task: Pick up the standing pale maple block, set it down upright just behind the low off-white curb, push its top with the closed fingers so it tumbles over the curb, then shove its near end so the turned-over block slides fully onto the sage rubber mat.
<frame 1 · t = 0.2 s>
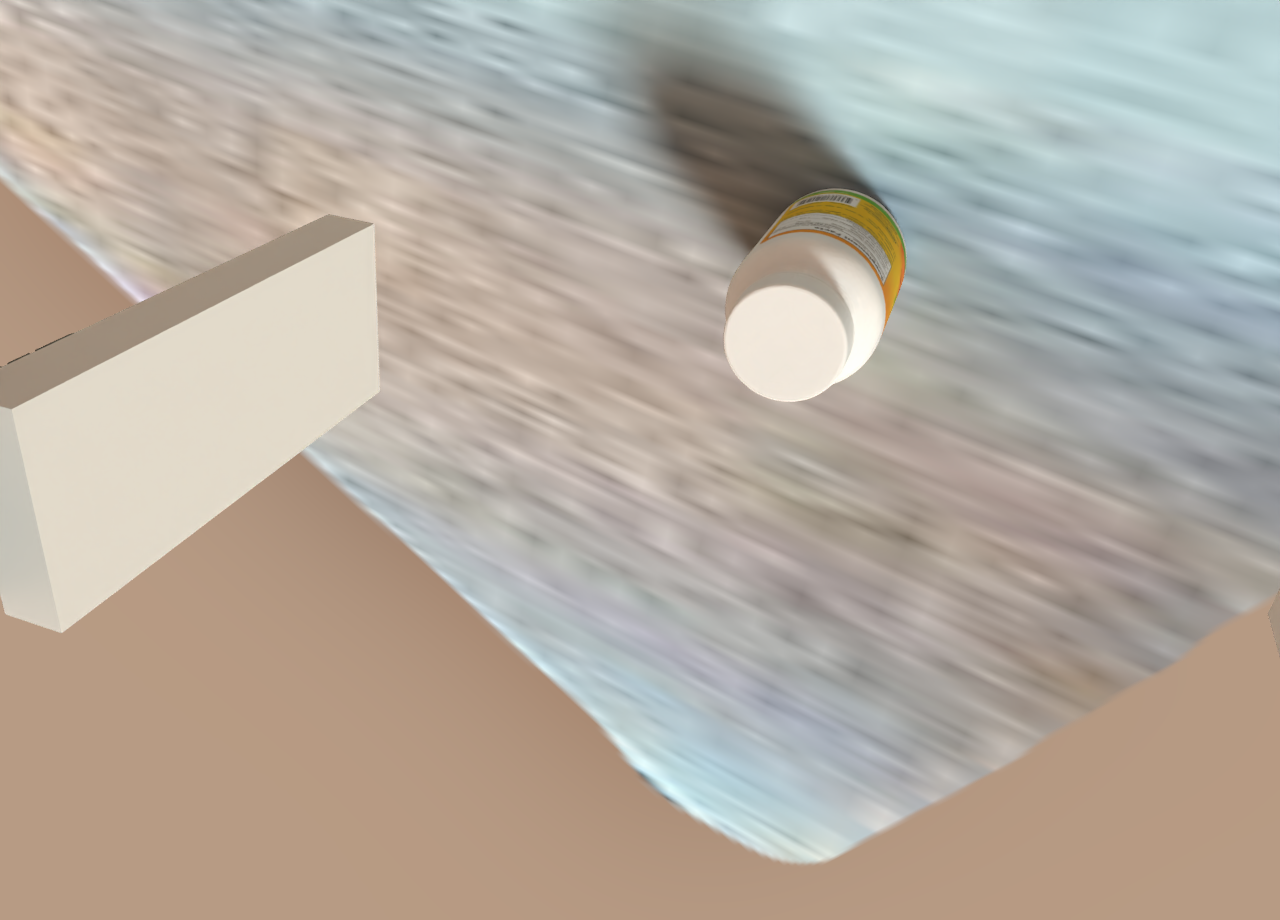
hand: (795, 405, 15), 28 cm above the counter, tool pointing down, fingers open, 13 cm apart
supplement bottle: (838, 253, 43), on the counter
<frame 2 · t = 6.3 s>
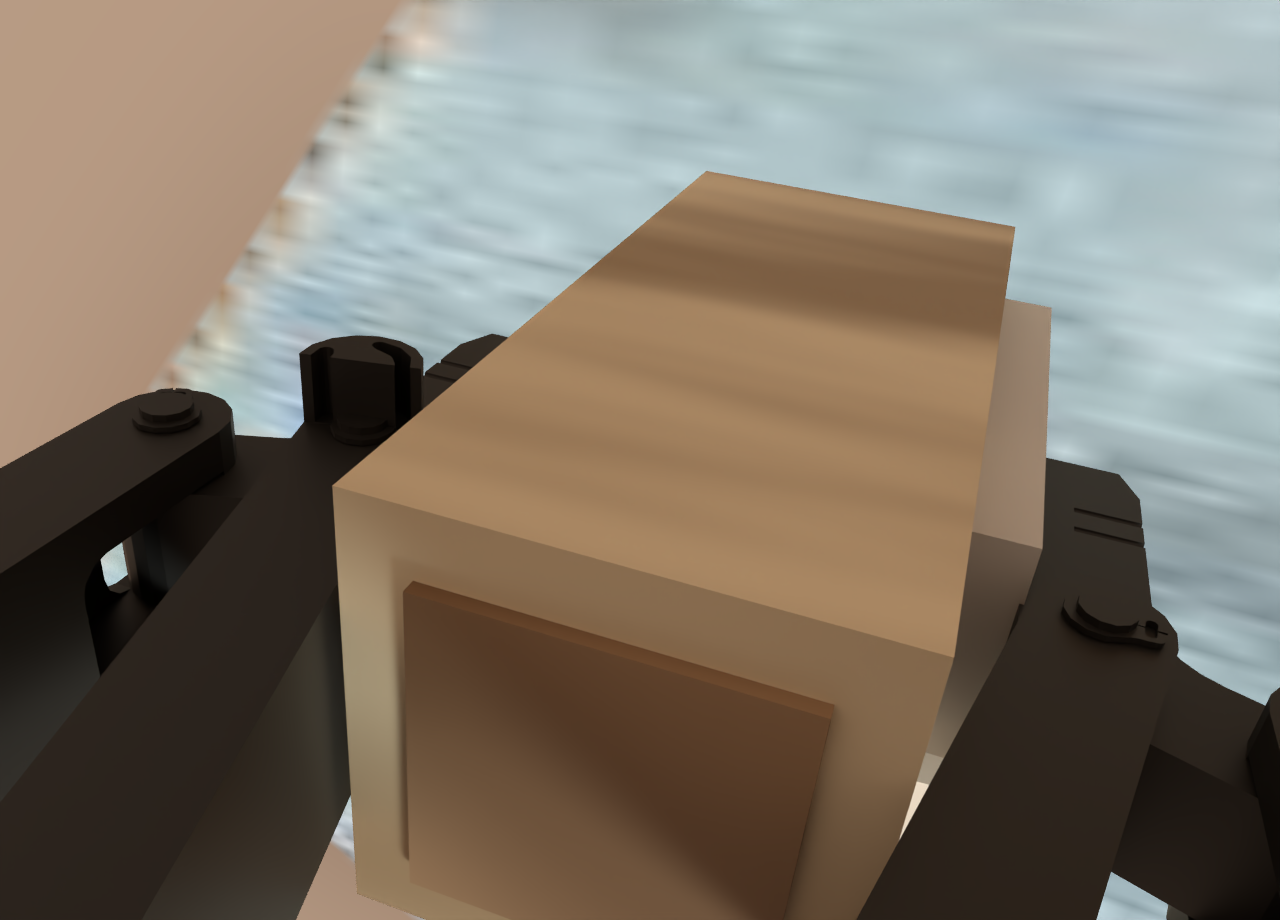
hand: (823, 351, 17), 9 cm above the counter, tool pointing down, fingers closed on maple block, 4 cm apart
maple block: (828, 340, 17), point 8 cm above the counter, touching gripper
curb: (738, 724, 32), on the counter
when the fingers open (1 cm above the counter, at t = 10.2 s): maple block stays where it is, on the counter.
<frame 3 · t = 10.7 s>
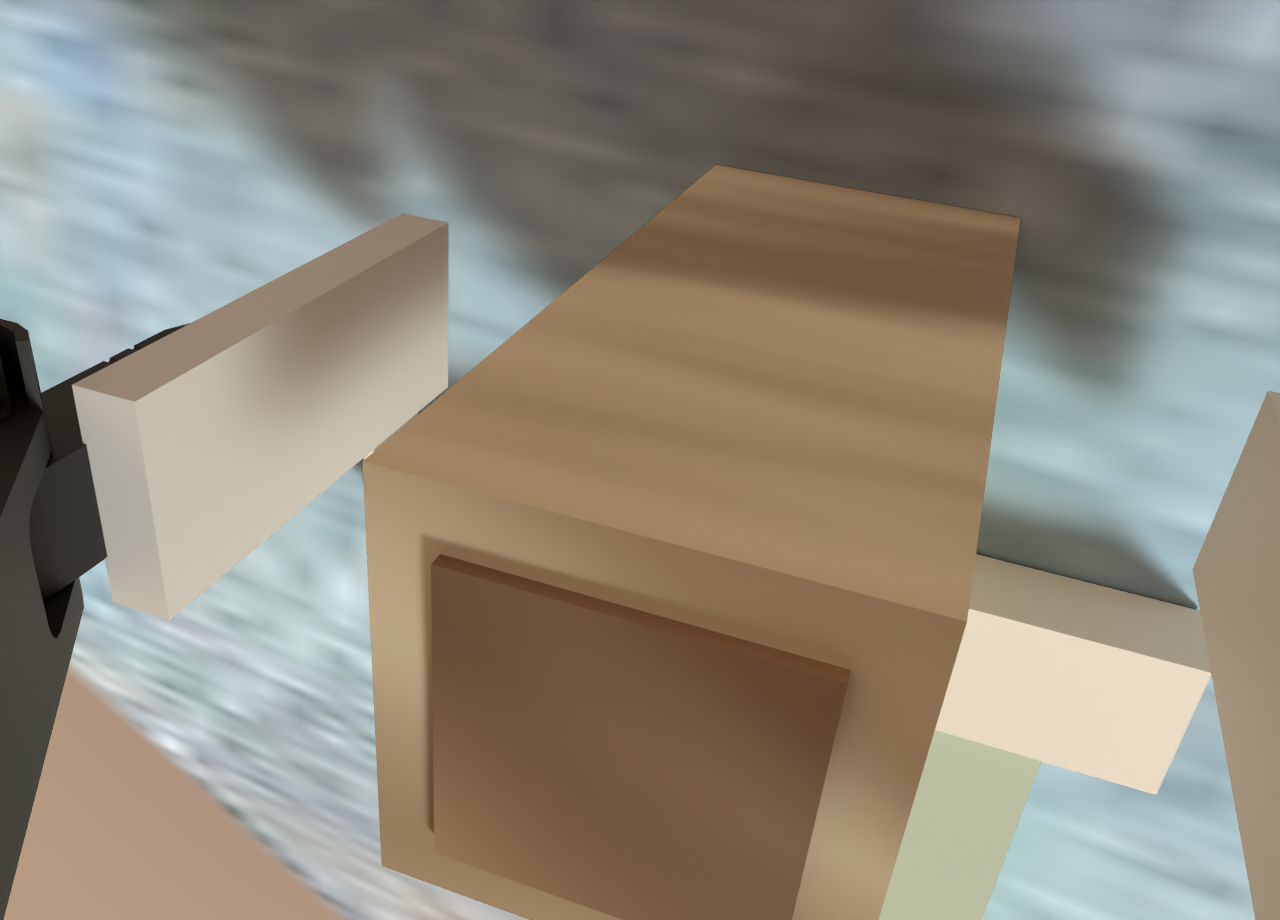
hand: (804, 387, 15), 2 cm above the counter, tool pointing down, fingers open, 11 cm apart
mat: (717, 798, 23), on the counter
maple block: (836, 331, 17), on the counter
curb: (759, 560, 20), on the counter
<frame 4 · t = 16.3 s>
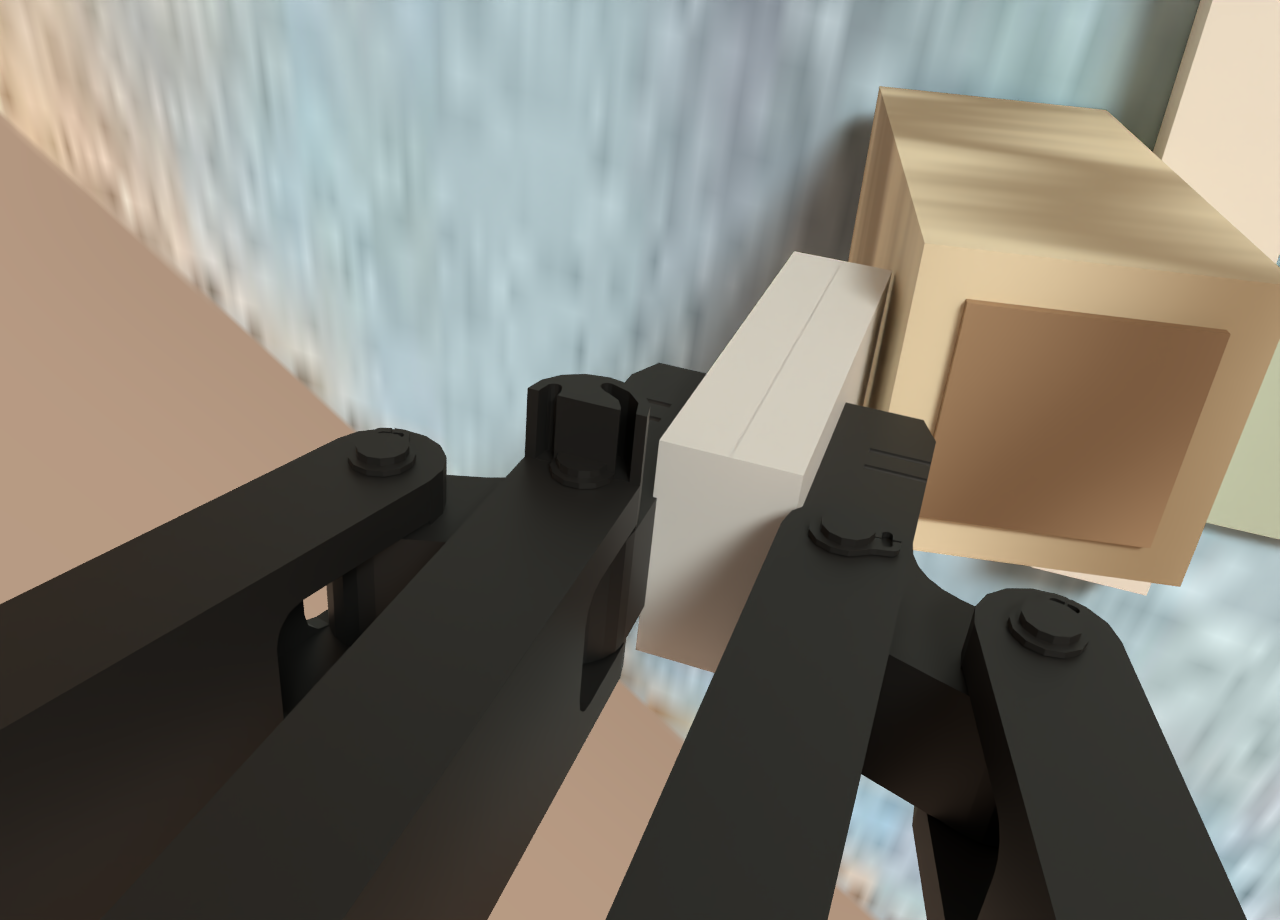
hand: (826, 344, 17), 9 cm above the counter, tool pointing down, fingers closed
maple block: (966, 207, 23), on the counter, tilted 11°, touching gripper
curb: (1183, 266, 23), on the counter
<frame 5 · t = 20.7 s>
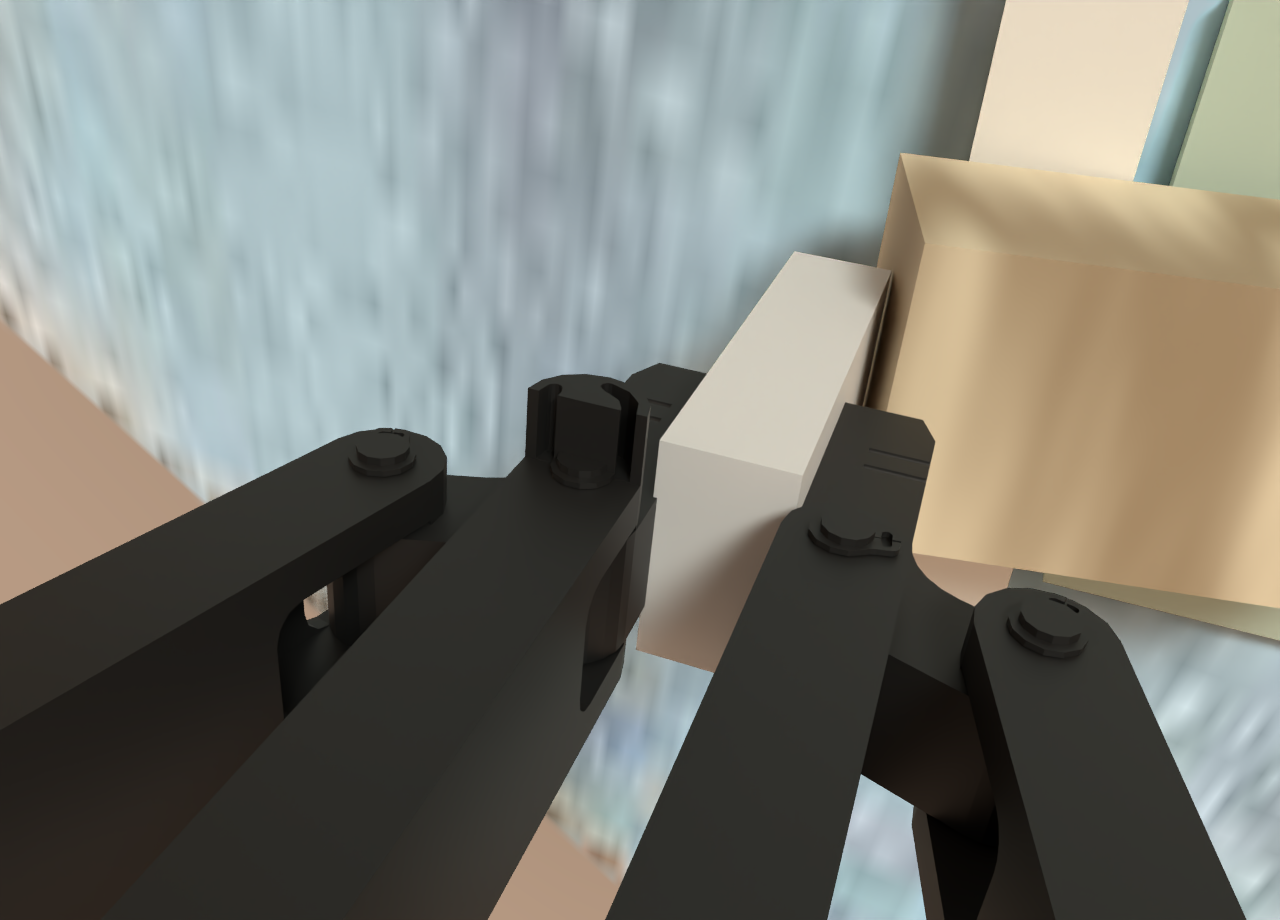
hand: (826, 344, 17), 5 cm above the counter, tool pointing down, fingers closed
maple block: (879, 338, 16), point 5 cm above the counter, tilted 101°, touching gripper
curb: (1010, 300, 20), on the counter
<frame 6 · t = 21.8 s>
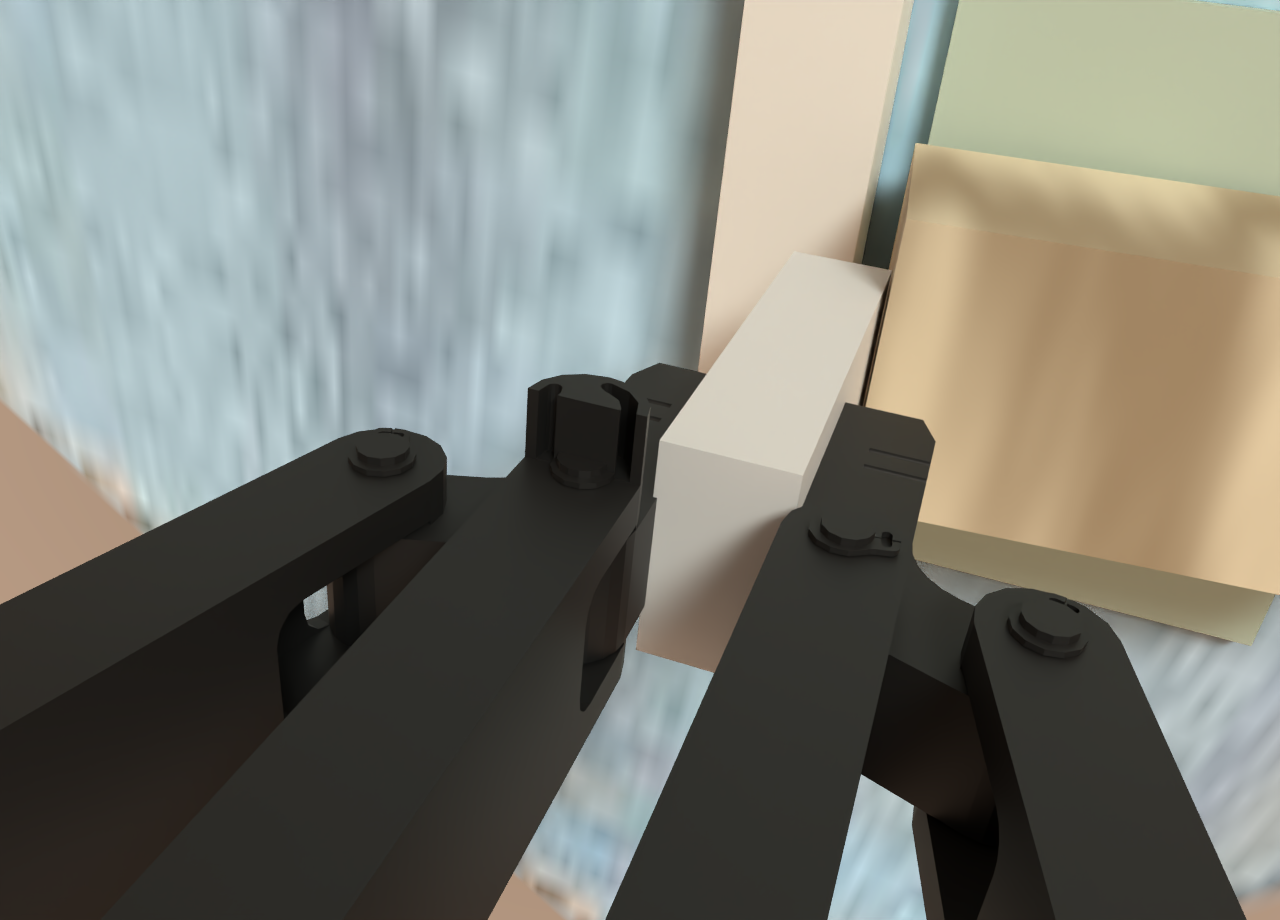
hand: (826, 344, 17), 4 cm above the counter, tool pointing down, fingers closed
mat: (1120, 332, 20), on the counter
maple block: (881, 316, 17), point 3 cm above the counter, tilted 95°, touching gripper, mat
curb: (794, 268, 21), on the counter
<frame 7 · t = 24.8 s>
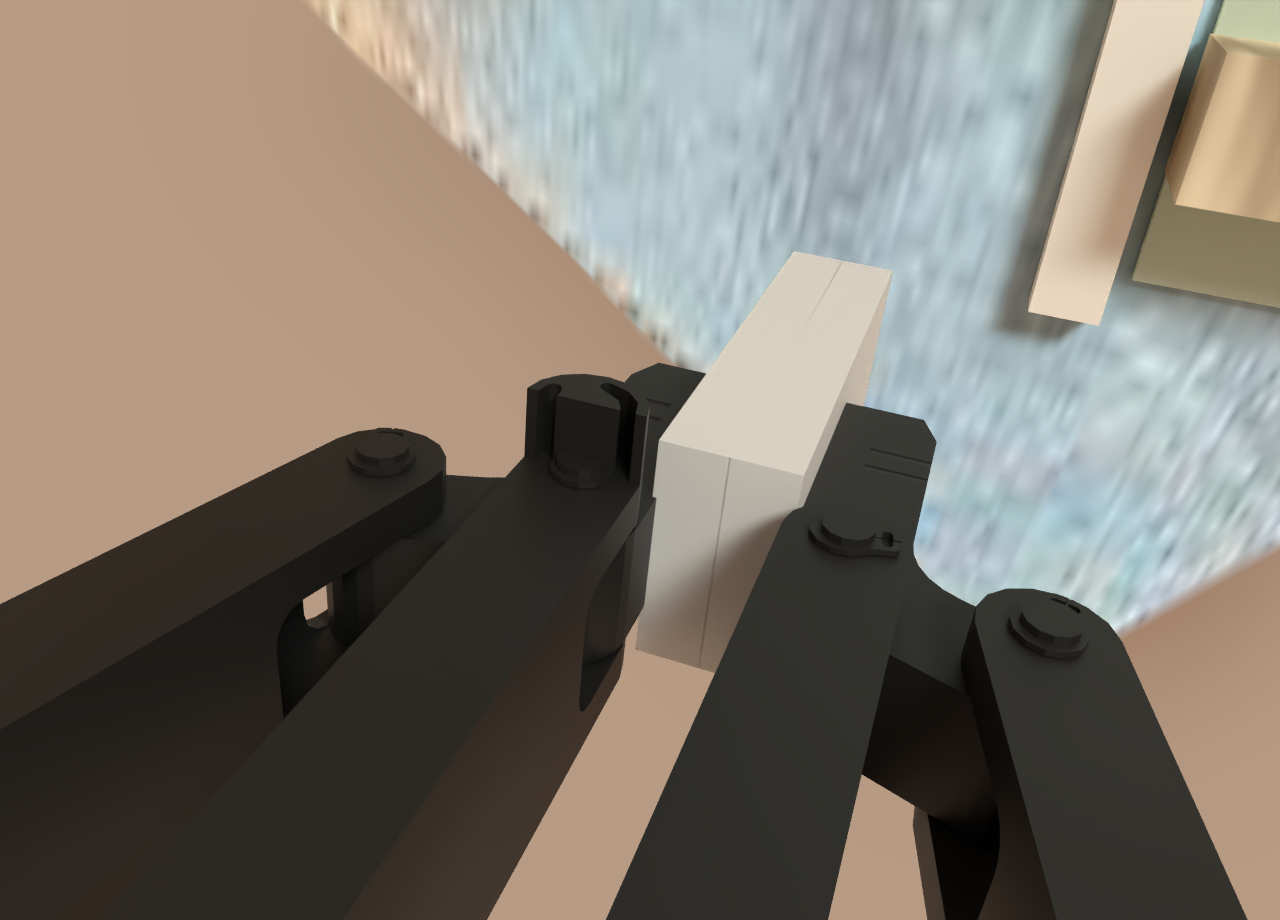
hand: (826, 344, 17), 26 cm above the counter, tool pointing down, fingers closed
maple block: (1193, 117, 35), point 3 cm above the counter, tilted 90°, touching mat
curb: (1120, 114, 38), on the counter
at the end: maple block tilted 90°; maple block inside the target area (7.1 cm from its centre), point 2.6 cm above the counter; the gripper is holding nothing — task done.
